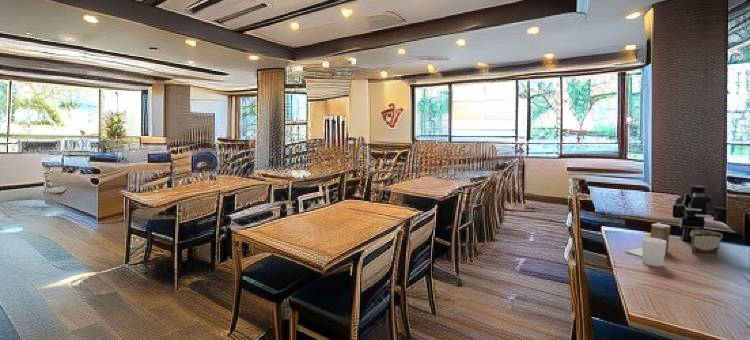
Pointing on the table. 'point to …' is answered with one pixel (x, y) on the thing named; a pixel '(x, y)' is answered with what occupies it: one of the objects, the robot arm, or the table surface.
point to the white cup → (654, 251)
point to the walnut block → (661, 232)
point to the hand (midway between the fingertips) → (700, 218)
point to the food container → (705, 242)
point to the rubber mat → (636, 252)
